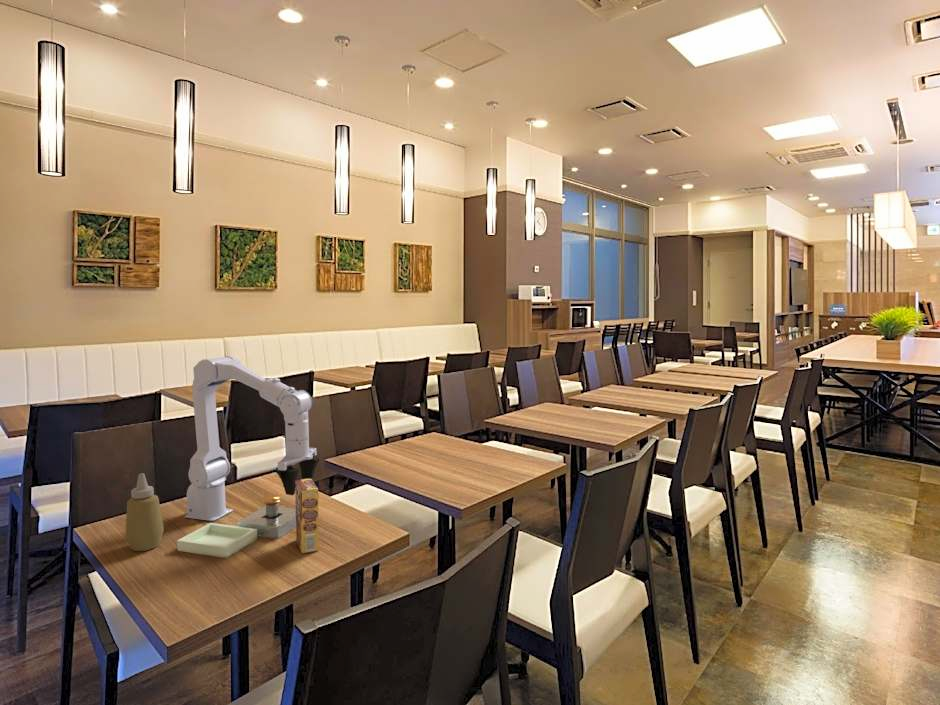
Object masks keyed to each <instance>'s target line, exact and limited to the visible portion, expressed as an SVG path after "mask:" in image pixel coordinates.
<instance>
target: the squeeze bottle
mask: <svg viewBox="0 0 940 705" xmlns="http://www.w3.org/2000/svg"><path fill="white" fill-rule="evenodd" d="M154 489H155V488H154V487H153V486H152V485H149V484H148V481H147V478H146V475H145V472H144V473H143V472H142V473H139V474H138V476H137V481H136V487H134V488H133V489H131V490H130V493H131V494H130V495H131V498H129V499H128V500H127V502H126V516H125V517H126V520H125V534H124V535H125V538H126V540H127V541H128V544H129V546H130V549H131V550H132V551H134V552H145V551H148V550H153V549H155V548H156V547H158V546H159V545H160V544H161V540H162V538H163V537H162V536H163V534H164V530H165V528H164V522H163V521H164V520H163V516H162V510H161V505H160V499H159V496H158V495H156V494H154V493H155V490H154Z"/></svg>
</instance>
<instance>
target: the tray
mask: <svg viewBox="0 0 940 705" xmlns="http://www.w3.org/2000/svg"><path fill="white" fill-rule="evenodd" d="M256 540H258V536H257V529H252V528H245V527H238V525H231V524H230V525H229V524H221V523H216V522H215V523H213V522H209V523H207V524H205V525H204V526H201V527H199V528H198V529H196V530H194V531H192V532H189V533H188V534H186V535H185V536H183V537H181V538H179V539H177V540H176V543H177V545H176V546H177V551H179V552H184V553H185V552H186V553H192V554H198V555H203V556H204V555H205V556H211V557H216V558H222V559H228V558H230V557H231V556H233V555H234V554H236V553H238V552H239V551H241V550H242V549H244V548H245V547H247V546H248V545H250V544H251V543H254V542H255V541H256Z"/></svg>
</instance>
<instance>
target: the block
mask: <svg viewBox="0 0 940 705" xmlns="http://www.w3.org/2000/svg"><path fill="white" fill-rule="evenodd" d="M237 526H238V527H245V528H252V529H257V537H261V538H262V537H264V538H270V539H278V540H279V539H281V538H282V537H284V536H285V535H286V534H288V533H289V532H292V530H294V529H296V508H293V507H284V506H278V517H277V518H276V519H268V518H266V505H265V506H262V507H261V508H259V509H258V510H256V511H254V512H252V513H250V514H249V515H247V516H245V517H244V518H242V519H239V520H238V521H237Z"/></svg>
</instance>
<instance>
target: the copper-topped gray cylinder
mask: <svg viewBox="0 0 940 705" xmlns="http://www.w3.org/2000/svg"><path fill="white" fill-rule="evenodd" d="M280 501H281V495H280V494H277V493H276V494H275V493H273V494H268V495H264V496H263V497H262V502H263V504H265V506H266V518H268V519H276V518H277V517H278V507H279V502H280Z"/></svg>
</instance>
